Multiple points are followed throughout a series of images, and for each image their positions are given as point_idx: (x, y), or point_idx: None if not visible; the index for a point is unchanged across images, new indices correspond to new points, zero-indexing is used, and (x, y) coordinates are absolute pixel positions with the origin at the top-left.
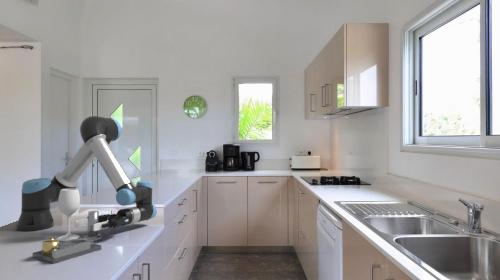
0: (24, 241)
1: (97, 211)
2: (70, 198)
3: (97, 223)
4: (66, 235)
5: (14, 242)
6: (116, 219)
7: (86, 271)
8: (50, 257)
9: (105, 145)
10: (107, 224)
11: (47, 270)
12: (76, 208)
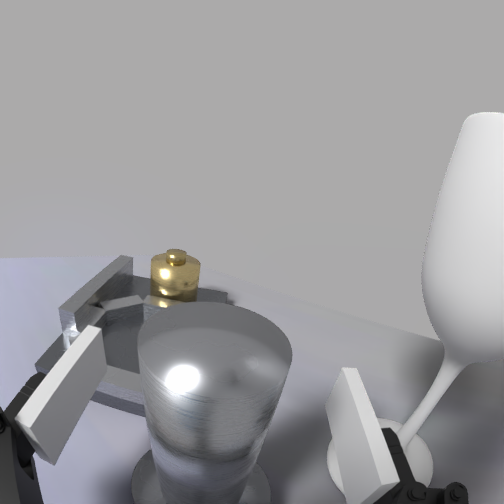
0: (430, 363)
1: (181, 374)
2: (443, 181)
3: (76, 345)
4: None
5: (431, 350)
6: None
7: (25, 266)
8: (139, 278)
9: None
10: (17, 400)
11: (106, 266)
12: (449, 306)
